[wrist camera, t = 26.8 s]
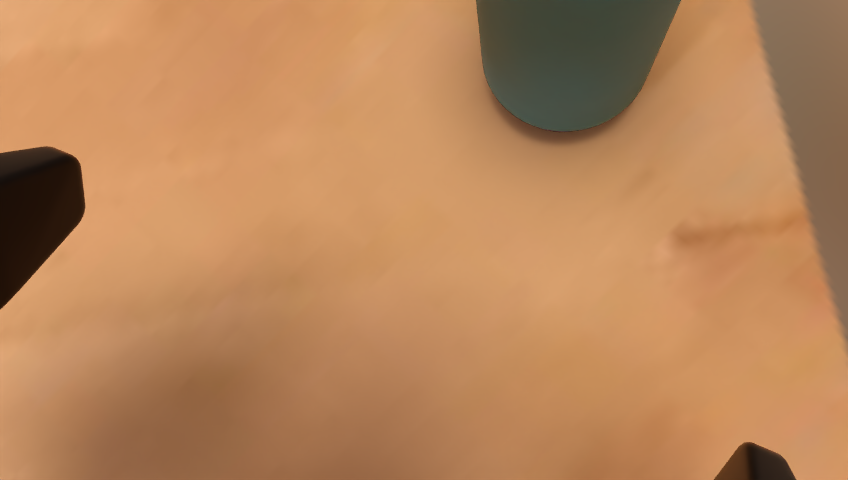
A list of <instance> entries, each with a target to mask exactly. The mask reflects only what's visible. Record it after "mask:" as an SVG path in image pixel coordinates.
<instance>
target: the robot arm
mask: <svg viewBox="0 0 848 480" xmlns="http://www.w3.org/2000/svg"><path fill="white" fill-rule="evenodd" d="M84 211H85V198H84V189H83V181H82V172H81V166H80V163H79V161H78V160H77V158H75V157H74V156H72V155H70V154H68V153H65V152H63V151H61V150H58V149H56V148H53V147H47V146H46V147H38V148H31V149H25V150H18V151H11V152H5V153H0V309H1V308H3V307H4V306H5V305H6V304H7V303H8V302H9V301H10V299H11V298H12V297H13V296H14V295H15V294H16V293H17V292H18V291H19V290H20V289H21V288H22V287H23V285H24V284H25V283H26V282H27V281H28V280H29V279H30V278H31V277H32V275H33V274H34V273H35V272H36V271H37V270H38V269H39V268H40V266H41V265H42V264H43V263H44V262H45V261H46V260H47V259H48V257H49V256H50V255H51V254H52V253H53V252H54V251H55V250H56V249H57V247H58V246H59V245H60V244H61V243H62V242H63V241H64V240H65V238H66V237H67V236H68V235H69V234H70V233H71V232H72V231H73V229H74V228H75V227H76V226H77V225H78V224H79V222H80V221H81V219H82V217H83V215H84ZM714 480H796V478H795V477H794V475H793V473H792V471H791V469H790V467H789V465H788V463H787V462H786V460H785V459H784V458H783V457H782V456H781V455H779V454H778V453H775V452H773V451H771V450H768V449H766V448H764V447H761V446H759V445H756V444H754V443H751V442H746V443H743V444H742V445H740V446H739V447H738V448H737V450H736V451H735V452H734V454H733V455H732V456H731V458H730V459H729V460H728V462H727V463H726V464H725V466H724V467H723V468H722V470H721V471H720V472H719V474H718V475H717V476H716V477H715V479H714Z"/></svg>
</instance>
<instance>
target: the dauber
mask: <svg viewBox="0 0 848 480" xmlns="http://www.w3.org/2000/svg"><path fill="white" fill-rule="evenodd" d="M680 1H681V0H476V4H477V14H478V24H479V34H480V43H481V53H482V63H483V68H484V73H485V76H486V79H487V82H488V85H489V87H490V88H491V90H492V92H493V94H494V95H495V97H496V98H497V100H498V101H499V102H500V103H501V104H502V105H503V106H504V107H505V108H506V109H507V110H508V111H509V112H510V113H512V114H513V115H514V116H516V117H517V118H519V119H520V120H522V121H524V122H526V123H528V124H531V125H533V126H536V127H538V128H541V129H545V130H549V131H556V132H567V131H578V130H583V129H588V128H591V127H594V126H597V125H600V124H602V123H604V122H606V121H608V120H610V119H612V118H613V117H615V116H616V115H618V114H619V113H621V112H622V111H623V110H624V109H625V108H626V107H628V105H629V104H630V103H631V102H632V101H633V100H634V99H635V98H636V96H637V95H638V93H639V92H640V90H641V89H642V87H643V85H644V83H645V81H646V78H647V76H648V74H649V72H650V69H651V67H652V65H653V63H654V60H655V58H656V56H657V53H658V51H659V49H660V47H661V44H662V42H663V40H664V38H665V35H666V33H667V31H668V29H669V26H670V24H671V22H672V20H673V17H674V15H675V13H676V10H677V8H678V6H679V4H680Z"/></svg>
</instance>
